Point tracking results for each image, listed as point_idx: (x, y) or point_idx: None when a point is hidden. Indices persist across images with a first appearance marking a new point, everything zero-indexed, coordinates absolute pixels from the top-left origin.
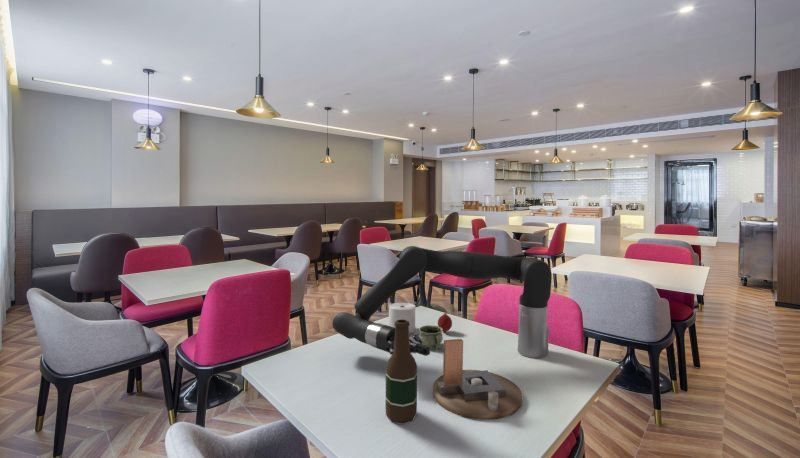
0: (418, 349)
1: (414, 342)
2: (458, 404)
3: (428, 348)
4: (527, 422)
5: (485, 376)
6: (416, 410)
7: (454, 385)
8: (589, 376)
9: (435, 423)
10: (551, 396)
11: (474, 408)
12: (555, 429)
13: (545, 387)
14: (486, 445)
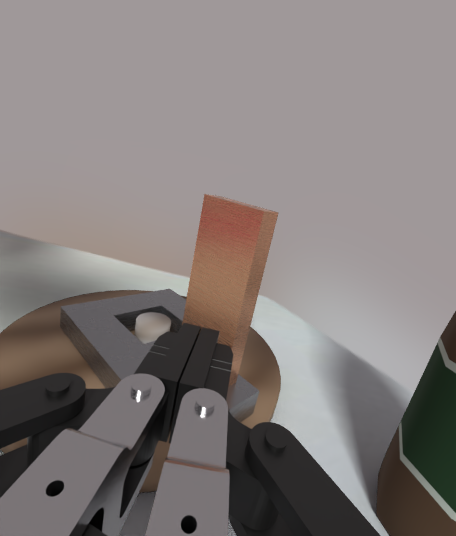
0: (227, 385)
1: (140, 421)
2: (257, 368)
3: (199, 327)
4: None
5: (112, 309)
6: (382, 464)
7: None
8: (6, 241)
9: (350, 415)
10: (105, 276)
11: (248, 343)
12: None
13: (67, 276)
14: (317, 337)
